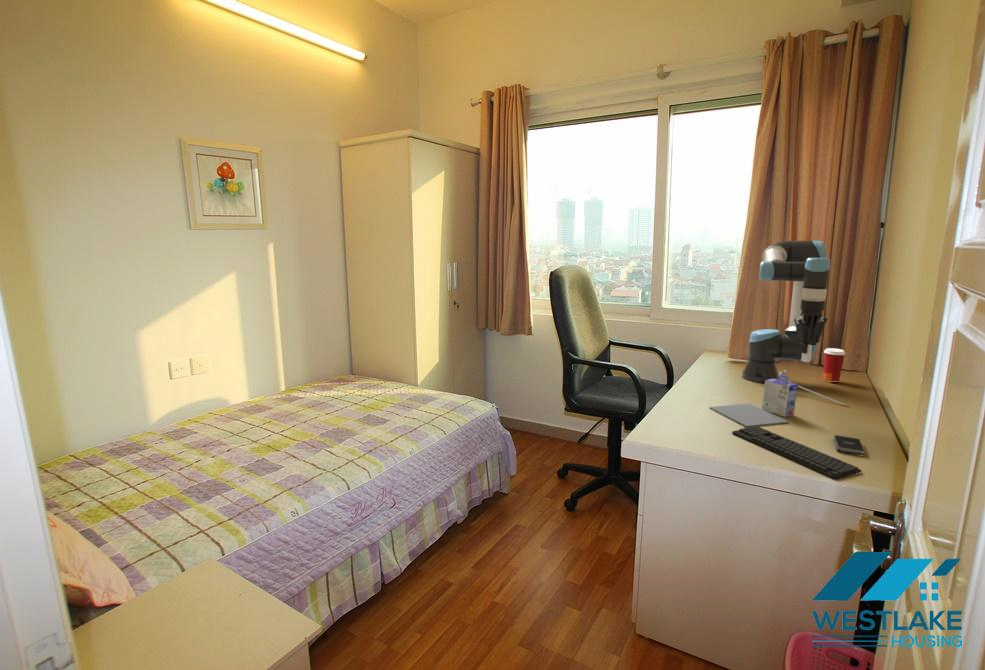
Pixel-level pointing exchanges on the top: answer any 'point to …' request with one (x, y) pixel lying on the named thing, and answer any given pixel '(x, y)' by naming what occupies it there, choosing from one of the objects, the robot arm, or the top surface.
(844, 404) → the brush
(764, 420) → the mat
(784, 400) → the ink cartridge box
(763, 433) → the keyboard
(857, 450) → the external hard drive
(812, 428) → the top surface
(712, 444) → the top surface
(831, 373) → the coffee cup
